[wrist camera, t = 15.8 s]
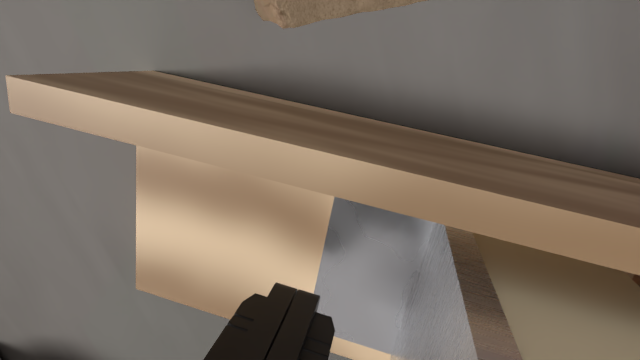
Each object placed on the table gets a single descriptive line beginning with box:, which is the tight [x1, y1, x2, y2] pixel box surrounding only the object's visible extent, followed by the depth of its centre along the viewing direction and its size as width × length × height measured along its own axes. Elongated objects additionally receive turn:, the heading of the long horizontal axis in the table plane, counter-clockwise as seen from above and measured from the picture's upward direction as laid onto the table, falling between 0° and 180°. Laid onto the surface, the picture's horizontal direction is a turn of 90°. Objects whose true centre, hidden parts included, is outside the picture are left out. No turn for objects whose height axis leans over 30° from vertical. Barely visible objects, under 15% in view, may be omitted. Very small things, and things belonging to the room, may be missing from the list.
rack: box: [6, 71, 640, 360], centre depth 10 cm, size 10×25×10 cm, turn 79°
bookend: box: [314, 197, 523, 360], centre depth 10 cm, size 7×4×9 cm, turn 169°
